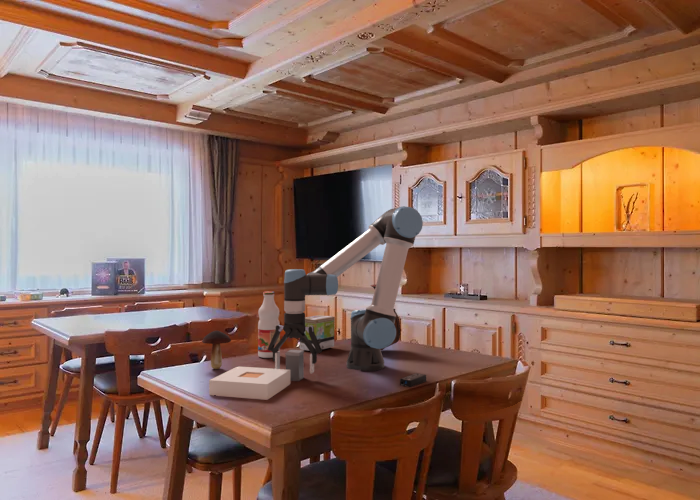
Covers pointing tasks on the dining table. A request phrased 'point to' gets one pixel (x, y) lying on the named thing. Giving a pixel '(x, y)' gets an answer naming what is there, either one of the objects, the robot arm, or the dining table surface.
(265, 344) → the fruit juice
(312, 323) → the tea box
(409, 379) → the multiport hub
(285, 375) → the socket
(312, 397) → the dining table surface
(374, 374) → the dining table surface
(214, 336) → the decorative mushroom
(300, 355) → the plug
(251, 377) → the shutter
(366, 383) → the dining table surface
